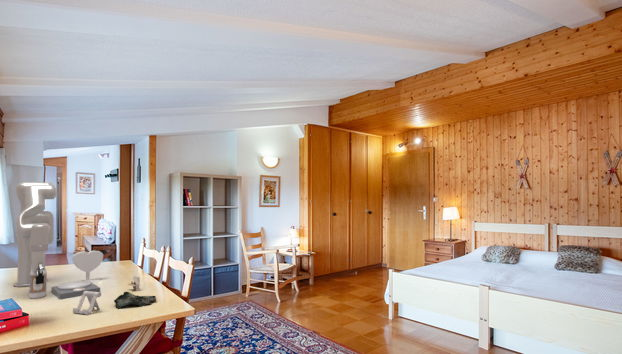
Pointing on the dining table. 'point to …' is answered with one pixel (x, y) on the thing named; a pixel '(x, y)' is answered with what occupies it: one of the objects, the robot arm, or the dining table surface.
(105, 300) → the dining table surface
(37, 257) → the robot arm
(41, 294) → the bath foam
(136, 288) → the architectural model
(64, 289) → the dial scale
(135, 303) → the decorative rock
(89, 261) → the heart sculpture
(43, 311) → the dining table surface
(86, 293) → the portable electronic device stand
